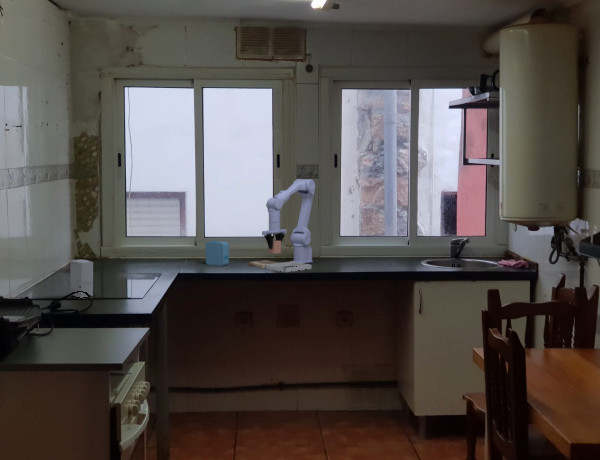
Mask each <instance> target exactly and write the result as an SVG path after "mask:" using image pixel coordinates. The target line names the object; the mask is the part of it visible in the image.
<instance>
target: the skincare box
mask: <svg viewBox="0 0 600 460" xmlns="http://www.w3.org/2000/svg"><path fill="white" fill-rule="evenodd" d="M69 267H70V269H69V277H70V278H69V294H70V293H72V292H77V291H83V292H87V293H88V294H89V295H91V296H93V297H94V261H91V260H87V259H72V260H70V262H69ZM83 292H78V293H75V294H73V295H74V296H76V297H80V298H83V297H88V296H87V295H86V294H85V293H83ZM76 297H75V298H76ZM80 298H79V299H80ZM83 299H84V298H83Z"/></svg>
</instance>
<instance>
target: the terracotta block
mask: <svg viewBox="0 0 600 460" xmlns="http://www.w3.org/2000/svg"><path fill="white" fill-rule="evenodd" d="M268 253H269V254H281V253H282V243H281V241H278V240H276V239H273V248H272V249H269V248H268Z"/></svg>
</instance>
